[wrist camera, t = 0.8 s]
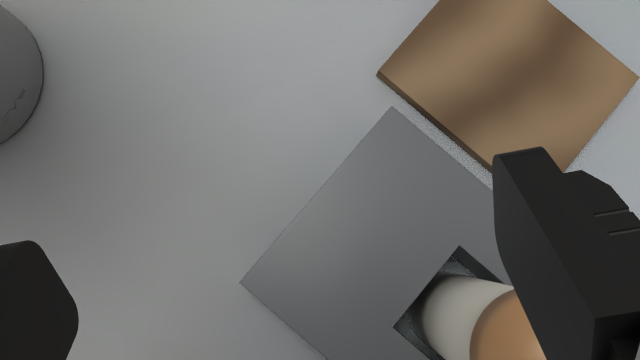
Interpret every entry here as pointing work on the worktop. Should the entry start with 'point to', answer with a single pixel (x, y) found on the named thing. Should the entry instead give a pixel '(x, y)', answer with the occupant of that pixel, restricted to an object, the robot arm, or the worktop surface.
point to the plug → (473, 320)
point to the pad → (508, 77)
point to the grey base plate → (377, 244)
